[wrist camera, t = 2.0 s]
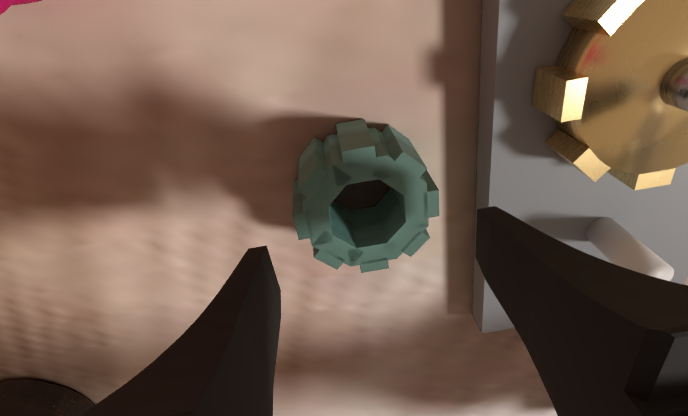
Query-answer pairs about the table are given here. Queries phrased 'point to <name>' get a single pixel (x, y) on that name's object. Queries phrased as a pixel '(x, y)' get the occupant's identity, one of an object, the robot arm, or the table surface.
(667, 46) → the brass gear
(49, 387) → the container
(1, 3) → the pepper mill
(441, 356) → the table surface
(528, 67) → the gear board
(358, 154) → the loose gear
